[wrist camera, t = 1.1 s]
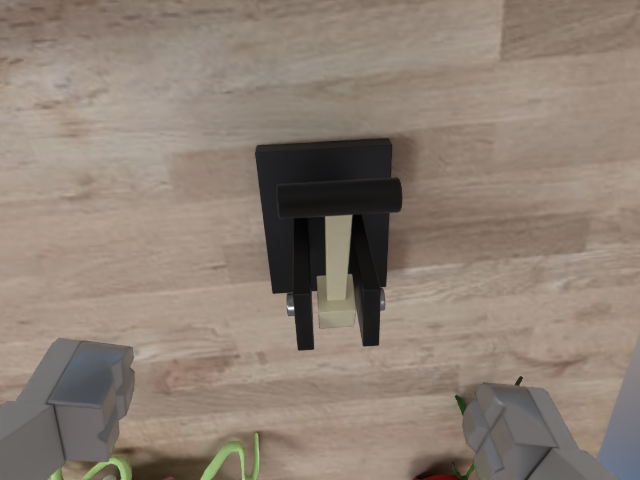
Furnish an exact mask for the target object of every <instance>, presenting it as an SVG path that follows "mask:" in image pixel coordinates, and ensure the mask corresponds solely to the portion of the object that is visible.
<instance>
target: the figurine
mask: <svg viewBox="0 0 640 480" xmlns="http://www.w3.org/2000/svg"><path fill="white" fill-rule="evenodd" d="M231 452H238V453H239V456H240V458H241V469H242V479H243V480H258V478H259V471H260V458H259V448H258V434H257V432H256V433H255V435H254V466H253V471H252V474H251V476H245V471H244V467H245V448H244V447H243V445H242V443H241V442H240V441H230V442H228V443H227V444H226V445H224V446H223V447H222V448H221V449H220V450H219V452H218V453H217V455H216V456H215V457H214V459H213V460H212V462H211V463H210V465H209V466H208V467H207V469H206V470H205V471H204V473H203V475H202V477H201V479H200V480H212V478H213V477H214V475H215V474H216V473H217V471H218V470H219V468H220V467H221V465H222V464H223V462H224V460H225V459H226V457H227V456H228V455H229V454H230V453H231ZM112 463H113V464H115V465H116V466H118V468H119V470H120V472H121V480H134V479H132V469H131V466H130V464H129V462H128V460H127V459H125V458H124V457H122V456H115V457H110V459H109V462H100V463H98V464H97V465H96V466H94V467H93V468H92V469H91V470H90V471H88V472H87V473H86V475H85V476H84V477H83V478H82V479H81V480H89V479H90V478H91V477H92V476H93V475H94V474H95V473H97V472H98V471H99V470H101V469H102V468H104V467H105V466H107V465H108V464H112ZM50 479H51V480H64V479H63V476H62V466H61V467H60V468H59V469H58V470H57V471H56V472H55V473H54V474H53V475H51V476H50ZM103 480H117V479H116V477H115V476H114V475H113V474H110V475H108V476H106V477H105V478H104V479H103ZM163 480H174V478H173V477H168V478H165V479H163Z"/></svg>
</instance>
